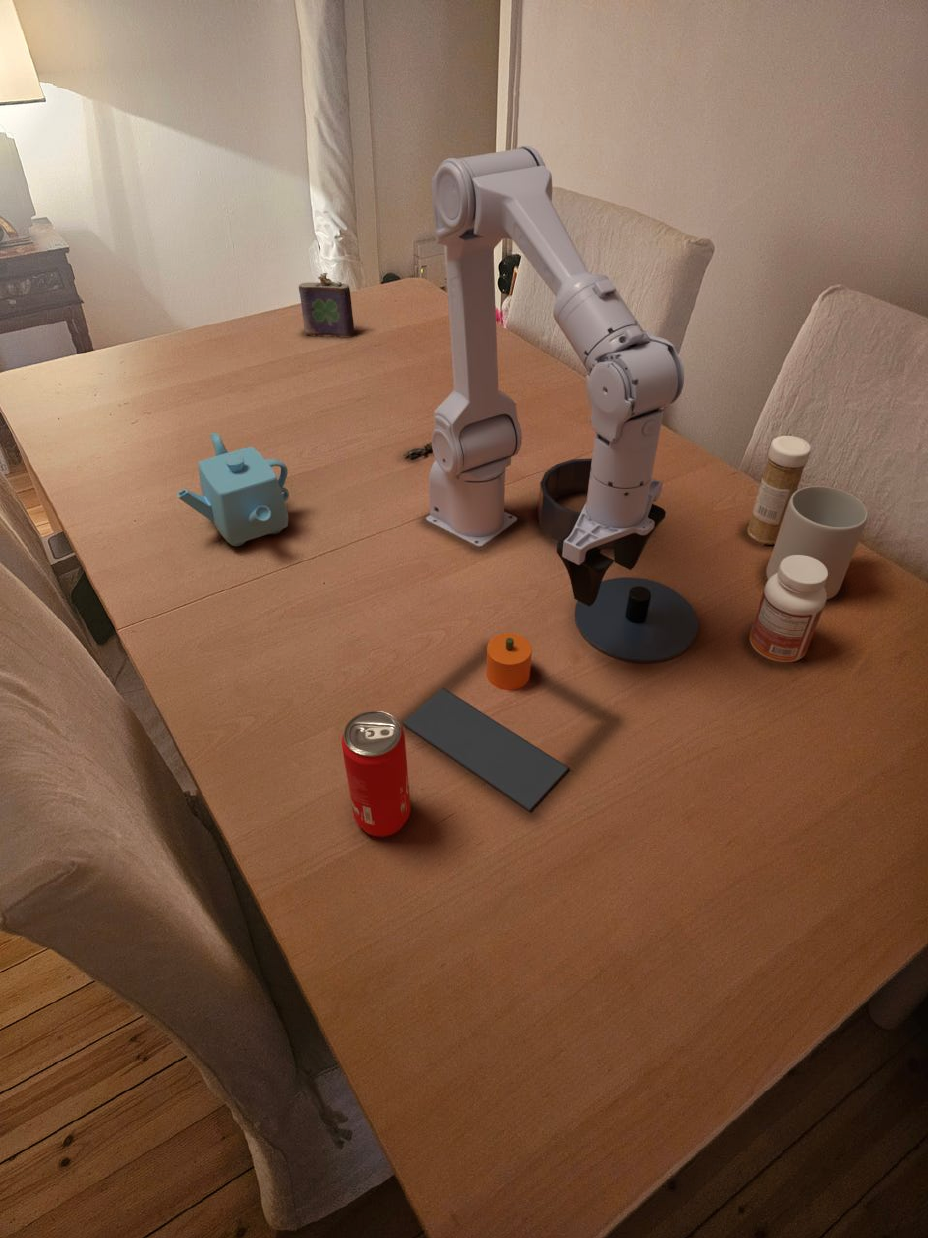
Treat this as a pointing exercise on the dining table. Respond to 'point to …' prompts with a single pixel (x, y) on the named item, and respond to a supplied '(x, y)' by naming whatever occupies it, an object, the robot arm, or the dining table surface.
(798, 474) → the sprinkles bottle
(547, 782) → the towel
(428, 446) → the can opener
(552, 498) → the pot
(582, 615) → the pot lid
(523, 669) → the pumpkin
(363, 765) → the beverage can
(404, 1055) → the dining table surface
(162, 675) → the dining table surface
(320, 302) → the flask
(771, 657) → the pill bottle
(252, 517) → the teapot
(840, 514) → the mug
